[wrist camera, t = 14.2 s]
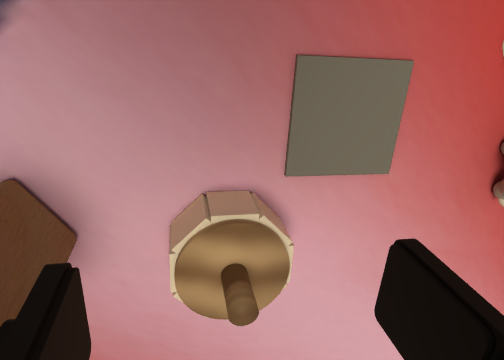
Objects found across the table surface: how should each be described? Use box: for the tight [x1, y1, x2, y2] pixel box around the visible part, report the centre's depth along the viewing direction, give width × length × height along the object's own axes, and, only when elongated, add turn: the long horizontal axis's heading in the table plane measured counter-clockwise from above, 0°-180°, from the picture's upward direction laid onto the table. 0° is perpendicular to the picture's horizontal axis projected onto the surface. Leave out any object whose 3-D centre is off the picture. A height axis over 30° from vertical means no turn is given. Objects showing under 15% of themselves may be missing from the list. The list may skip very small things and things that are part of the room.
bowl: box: [169, 190, 294, 317], centre depth 43 cm, size 14×14×6 cm
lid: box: [174, 219, 290, 326], centre depth 37 cm, size 13×13×7 cm
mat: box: [284, 55, 414, 176], centre depth 42 cm, size 14×14×1 cm
